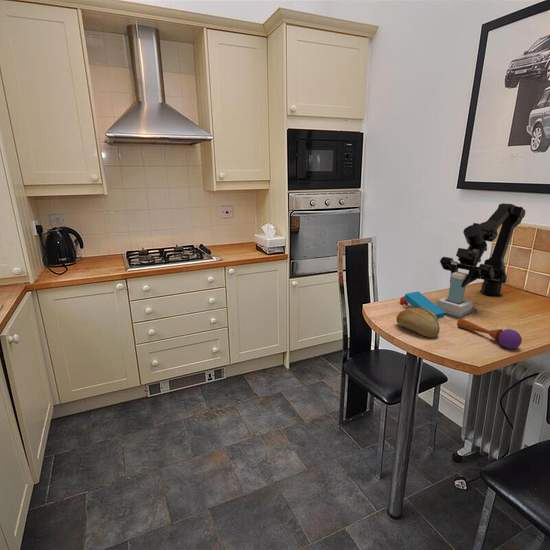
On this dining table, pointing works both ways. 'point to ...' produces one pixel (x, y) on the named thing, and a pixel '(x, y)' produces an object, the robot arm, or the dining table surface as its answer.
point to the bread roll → (419, 321)
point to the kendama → (495, 334)
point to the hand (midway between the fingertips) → (456, 285)
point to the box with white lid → (457, 287)
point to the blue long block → (422, 303)
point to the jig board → (456, 308)
